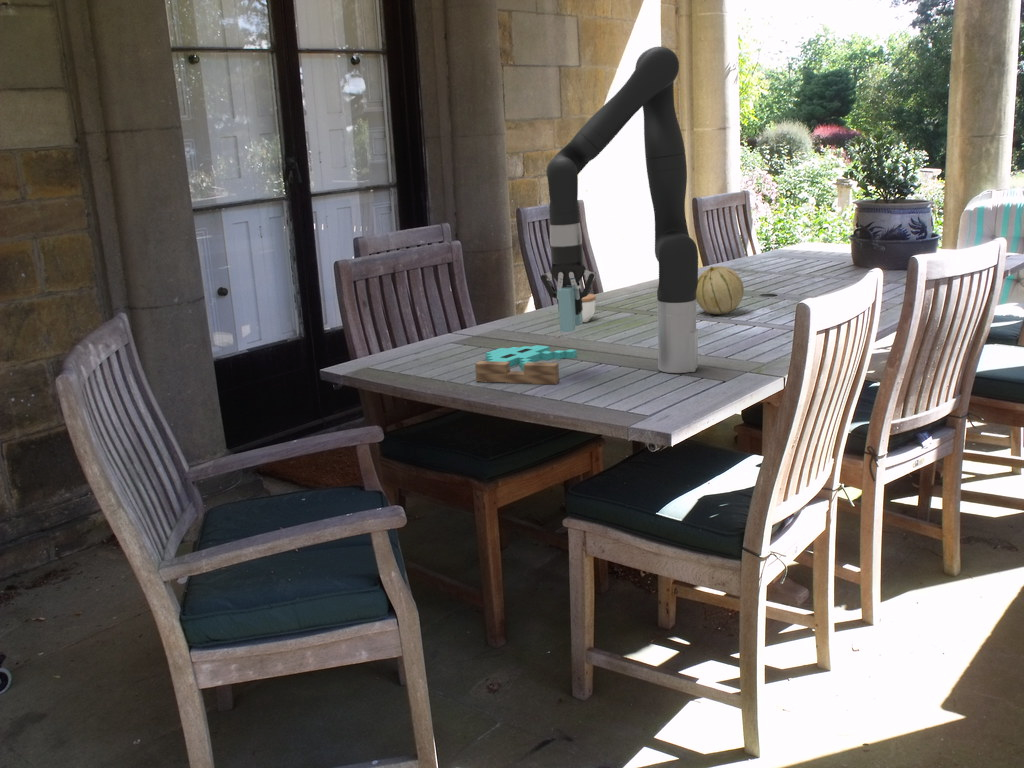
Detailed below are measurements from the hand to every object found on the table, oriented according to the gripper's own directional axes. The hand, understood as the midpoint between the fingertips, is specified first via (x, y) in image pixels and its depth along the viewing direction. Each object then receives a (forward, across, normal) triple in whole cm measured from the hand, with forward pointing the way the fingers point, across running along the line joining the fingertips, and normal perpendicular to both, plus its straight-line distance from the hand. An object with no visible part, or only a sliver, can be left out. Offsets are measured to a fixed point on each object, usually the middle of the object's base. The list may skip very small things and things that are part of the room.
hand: (570, 314), depth 245 cm
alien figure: (+15, +17, -13) cm, 26 cm away
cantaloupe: (+17, -26, -78) cm, 84 cm away
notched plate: (+3, 0, 0) cm, 3 cm away
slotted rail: (+15, +12, +8) cm, 21 cm away
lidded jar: (+15, +15, -65) cm, 68 cm away
